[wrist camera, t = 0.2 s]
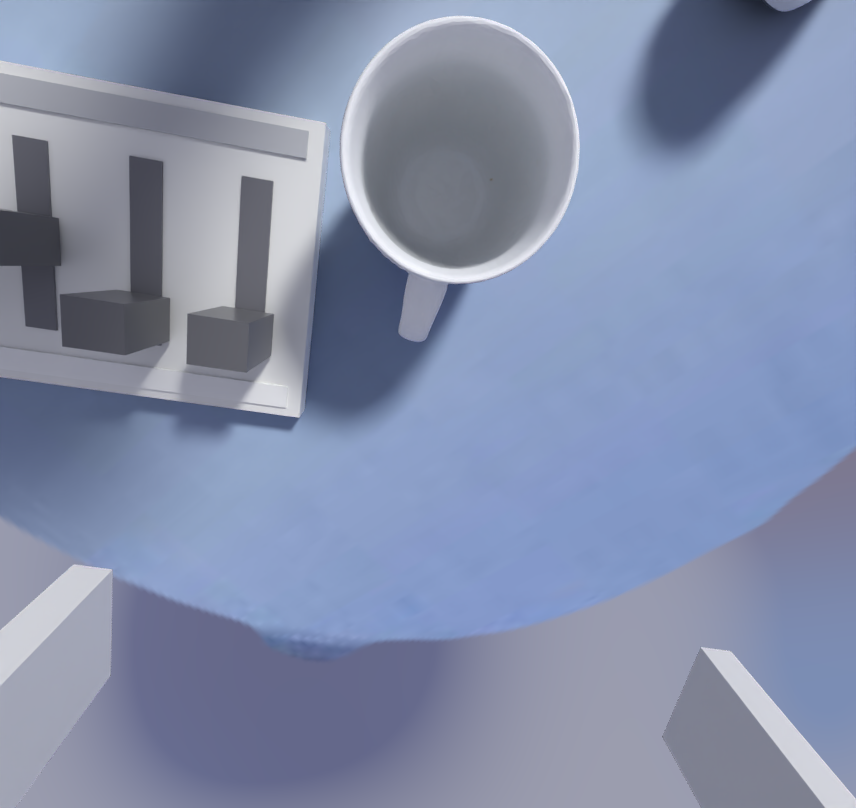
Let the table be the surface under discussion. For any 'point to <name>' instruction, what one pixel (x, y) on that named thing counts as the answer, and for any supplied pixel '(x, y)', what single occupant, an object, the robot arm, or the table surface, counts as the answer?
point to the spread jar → (785, 4)
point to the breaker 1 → (29, 239)
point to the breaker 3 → (229, 338)
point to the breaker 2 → (114, 321)
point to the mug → (458, 156)
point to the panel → (161, 230)
